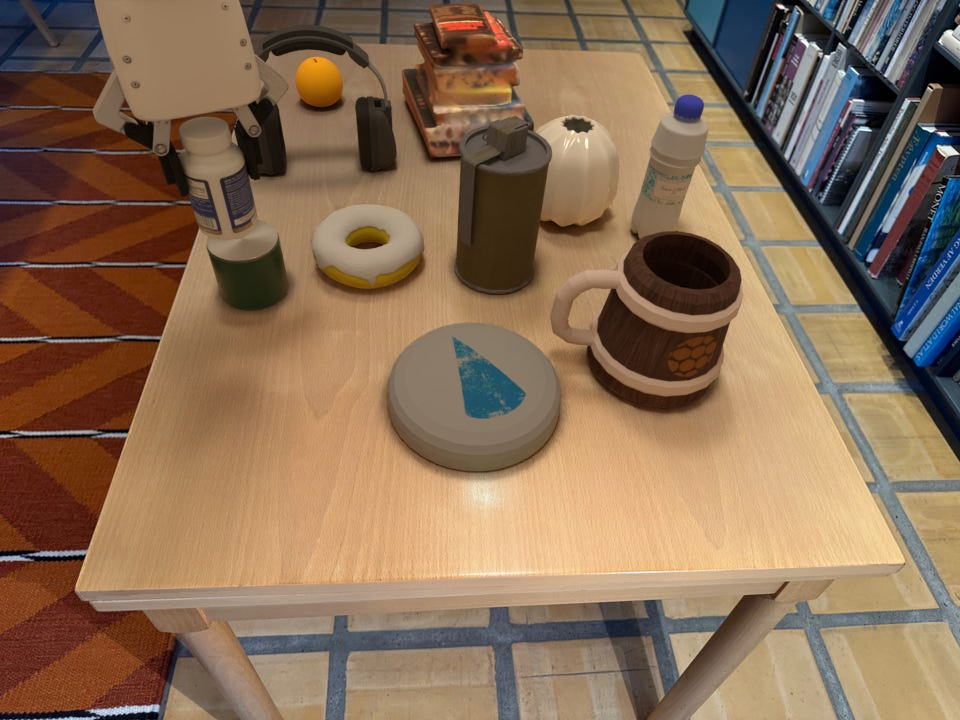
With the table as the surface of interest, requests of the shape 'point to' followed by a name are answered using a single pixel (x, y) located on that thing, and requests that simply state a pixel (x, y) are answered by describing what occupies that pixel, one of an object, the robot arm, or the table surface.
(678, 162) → the bottle
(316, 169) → the table surface
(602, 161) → the vase
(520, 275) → the canister
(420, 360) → the frisbee
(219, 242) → the tin can
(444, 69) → the book
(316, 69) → the orange
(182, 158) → the pill bottle
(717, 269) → the mug
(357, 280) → the donut
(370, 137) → the headphones
